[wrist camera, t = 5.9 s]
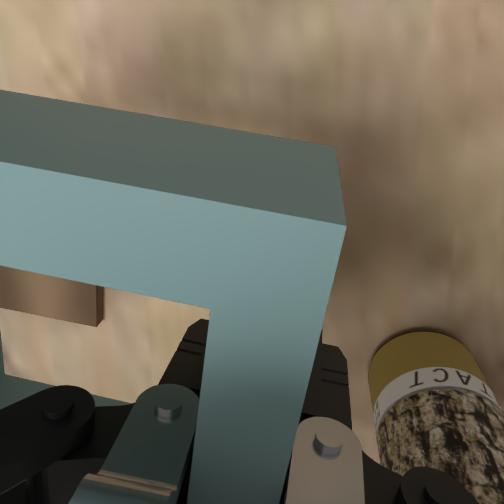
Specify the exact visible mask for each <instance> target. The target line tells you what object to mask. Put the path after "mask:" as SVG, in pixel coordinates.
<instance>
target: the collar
mask: <svg viewBox="0 0 504 504" xmlns="http://www.w3.org/2000/svg"><path fill="white" fill-rule="evenodd" d="M346 228H347V223H346V216H345V209H344V202H343V195H342V188H341V181H340V174H339V167H338V160H337V153H336V147H332V146H327V145H321V144H315V143H309V142H303V141H297V140H291V139H286V138H280V137H274V136H268V135H262V134H256V133H250V132H245V131H239V130H233V129H227V128H221V127H215V126H209V125H204V124H198V123H192V122H186V121H180V120H174V119H168V118H163V117H157V116H151V115H145V114H139V113H133V112H128V111H122V110H116V109H110V108H104V107H98V106H92V105H87V104H81V103H75V102H69V101H63V100H57V99H51V98H46V97H40V96H34V95H28V94H22V93H16V92H10V91H5V90H0V265H1V266H6V267H11V268H15V269H20V270H25V271H30V272H35V273H40V274H44V275H49V276H54V277H59V278H64V279H68V280H73V281H78V282H83V283H88V284H93V285H97V286H102V287H107V288H112V289H117V290H121V291H126V292H131V293H136V294H141V295H145V296H150V297H155V298H160V299H165V300H170V301H174V302H179V303H184V304H189V305H194V306H198V307H203V308H208V309H211V310H210V318H209V326H208V334H207V343H206V351H205V359H204V367H203V375H202V383H201V392H200V400H199V408H198V416H197V424H196V432H195V441H194V449H193V457H192V465H191V473H190V482H189V490H188V498H187V504H279V501H280V497H281V493H282V489H283V485H284V481H285V477H286V473H287V469H288V465H289V461H290V456H291V452H292V448H293V444H294V440H295V436H296V432H297V428H298V424H299V420H300V416H301V412H302V407H303V403H304V399H305V395H306V391H307V387H308V383H309V379H310V375H311V371H312V367H313V363H314V358H315V354H316V350H317V346H318V342H319V338H320V334H321V330H322V326H323V322H324V318H325V313H326V309H327V305H328V301H329V297H330V293H331V289H332V285H333V281H334V277H335V273H336V269H337V264H338V260H339V256H340V252H341V248H342V244H343V240H344V236H345V232H346ZM51 387H55V386H53V385H49V384H45V383H40V382H36V381H31V380H27V379H23V378H18V377H14V376H10V375H5V372H4V362H3V353H2V343H1V333H0V409H2V408H5V407H7V406H9V405H11V404H13V403H16V402H18V401H20V400H22V399H24V398H27V397H29V396H31V395H33V394H35V393H38V392H40V391H42V390H45V389H47V388H51ZM91 395H92V394H91ZM92 396H93V398H94V401H95V407H97V406H121V405H128V404H131V403H127V402H123V401H118V400H114V399H110V398H105V397H101V396H97V395H92ZM25 480H26V479H25ZM25 480H24V481H25ZM22 482H23V481H22ZM20 483H21V482H20ZM17 485H18V484H17ZM15 486H16V485H15ZM12 488H13V487H12ZM10 489H11V488H10ZM8 490H9V489H8ZM8 490H7V491H8ZM5 492H6V491H5ZM3 493H4V492H3ZM3 493H2V494H3ZM0 495H1V494H0Z"/></svg>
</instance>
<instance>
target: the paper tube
mask: <svg viewBox="0 0 504 504" xmlns="http://www.w3.org/2000/svg"><path fill="white" fill-rule="evenodd" d="M368 380H369V387H370V394H371V401H372V407H373V414H374V423H375V430H376V437H377V443H378V450H379V457H380V463H381V465H382V466H384V467H386V468H388V469H390V470H392V471H394V472H396V473H398V474H400V475H402V476H403V475H404V474H405V472H407V471H408V470H409V469H411V468H414V467H431V468H434V469H437V470H440V471H442V472H444V473H446V474H448V475H450V476H451V477H453V478H454V479H456V480H457V481H458V482H459V483H461V484H462V485H463V486H464V487H465V488H466V489H467V490H468V492H469V493H470V494H471V495H472V496H473V497H474V498H475V499H476V500H477V501H478V502H479V504H504V413H503V411H502V409H501V407H500V405H499V403H498V401H497V399H496V398H495V396H494V394H493V392H492V391H491V389H490V387H489V385H488V383H487V382H486V380H485V378H484V376H483V374H482V372H481V370H480V368H479V366H478V365H477V363H476V361H475V359H474V357H473V356H472V354H471V353H470V352H469V351H468V349H467V348H466V347H465V346H464V345H462V344H461V343H460V342H458V341H457V340H455V339H453V338H451V337H449V336H446V335H443V334H439V333H434V332H413V333H408V334H404V335H401V336H399V337H396V338H394V339H393V340H391V341H389V342H388V343H386V344H385V345H384V346H383V347H382V348H380V350H379V351H378V352H377V353H376V354H375V356H374V358H373V359H372V362H371V364H370V368H369V374H368Z"/></svg>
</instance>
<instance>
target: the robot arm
mask: <svg viewBox="0 0 504 504" xmlns="http://www.w3.org/2000/svg"><path fill="white" fill-rule="evenodd" d="M208 326H209V320H205V319H200V320H198V321H197V322H195V323H194V324H192V325H191V326H189V327H188V329H187V331H186V333H185V335H184V337H183V339H182V341H181V342H180V344H179V346H178V348H177V351H176V352H175V354H174V356H173V357H172V359H171V361H170V363H169V365H168V367H167V369H166V371H165V373H164V374H163V376H162V378H161V380H160V382H159V384H158V385H156V386H153V387H151V388H149V389H147V390H145V391H144V392H143V393H142V394H141V395H140V396H139V397H138V398H137V400H136V402H135V403H132V404H128V405H121V406H97V407H95V401H94V398H93V396H92V395H91V394H90V393H89V392H88V391H87V390H85V389H83V388H80V387H77V386H69V385H63V386H55V387H51V388H47V389H45V390H42V391H40V392H38V393H35V394H33V395H31V396H29V397H27V398H24V399H22V400H20V401H18V402H16V403H13V404H11V405H9V406H7V407H5V408H2V409H0V494H1V495H0V504H187V498H188V490H189V482H190V473H191V465H192V457H193V449H194V441H195V432H196V424H197V416H198V408H199V400H200V392H201V383H202V375H203V367H204V359H205V351H206V343H207V334H208ZM347 375H348V370H347V360H346V358H345V357H344V355H343V353H342V352H341V350H340V349H339V347H336V346H331V345H327V344H322V330H321V334H320V338H319V342H318V346H317V350H316V354H315V358H314V363H313V367H312V371H311V375H310V379H309V383H308V387H307V391H306V395H305V399H304V403H303V407H302V412H301V416H300V420H299V424H298V428H297V432H296V436H295V440H294V444H293V448H292V452H291V456H290V461H289V465H288V469H287V473H286V477H285V481H284V485H283V489H282V493H281V497H280V501H279V504H479V502H478V501H477V500H476V499H475V498H474V497H473V496H472V495H471V494H470V493H469V492H468V490H467V489H466V488H465V487H464V486H463V485H462V484H461V483H459V482H458V481H457V480H456V479H454V478H453V477H451V476H450V475H448V474H446V473H444V472H442V471H440V470H437V469H434V468H431V467H414V468H411V469H409V470H408V471H407V472H405V474H404V475H403V476H402V475H400V474H398V473H396V472H394V471H392V470H390V469H388V468H386V467H384V466H382V465H380V464H378V463H377V462H375V461H374V460H372V459H371V458H370V457H369V456H367V455H366V454H365V453H364V452H363V451H362V448H361V444H360V441H359V440H358V438H357V436H356V435H355V434H354V432H353V431H352V421H351V408H350V395H349V387H348V385H349V382H348V376H347ZM25 479H26V480H25ZM24 480H25V481H24ZM22 481H23V482H22ZM20 482H21V483H20ZM17 484H18V485H17ZM15 485H16V486H15ZM12 487H13V488H12ZM10 488H11V489H10ZM8 489H9V490H8ZM7 490H8V491H7ZM5 491H6V492H5ZM3 492H4V493H3ZM2 493H3V494H2Z"/></svg>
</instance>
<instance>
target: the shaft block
mask: <svg viewBox="0 0 504 504" xmlns="http://www.w3.org/2000/svg"><path fill="white" fill-rule="evenodd" d="M0 308H5V309H10V310H15V311H20V312H25V313H30V314H35V315H40V316H45V317H50V318H55V319H59V320H64V321H69V322H74V323H79V324H84V325H89V326H94V327H97V326H98V325H99V323H100V322H101V321H102V320H103V287H102V286H97V285H93V284H88V283H83V282H78V281H73V280H68V279H64V278H59V277H54V276H49V275H44V274H40V273H35V272H30V271H25V270H20V269H15V268H11V267H6V266H1V265H0Z"/></svg>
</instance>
